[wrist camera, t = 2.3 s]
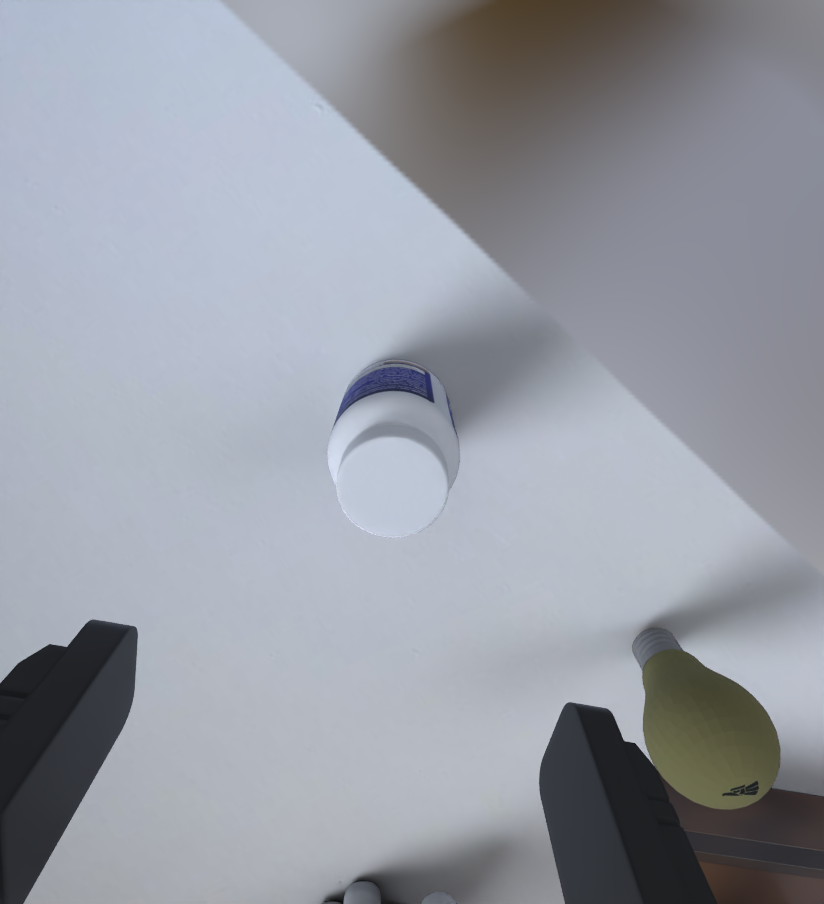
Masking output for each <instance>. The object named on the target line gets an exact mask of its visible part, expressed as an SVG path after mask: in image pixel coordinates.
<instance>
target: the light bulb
mask: <svg viewBox="0 0 824 904" xmlns="http://www.w3.org/2000/svg"><path fill="white" fill-rule="evenodd" d="M632 650H633V653H634V655H635V658H636V659H637V661H638V663H639V665H640V667H641V669H642V671H643V672H642V673H643V676H642V679H643V685H644V689H645V706H644V714H643V732H644V738H645V743H646V747H647V750H648V752H649V755H650V758H651V760H652V762H653V763H654V765H655V766H656V768H657V770H658V771H659V773H660V774H661V776H662V777H663V778H664V779H665V780H666V781H667V782H668V783H669V784H670V785H671V786H672V787H673V788H674V789H675V790H676V791H677V792H679V793H680V794H682V795H683V796H685V797H686V798H688V799H690V800H692V801H693V802H696V803H698V804H701V805H704V806H707V807H710V808H714V809H729V810H732V809H737V808H742V807H746V806H748V805H750V804H752V803H754V802H756V801H758V800H759V799H760V798H762V797H763V796H764V795H765V794H766V793H767V792H768V791H769V790H770V788H771V787H772V785H773V784H774V782H775V780H776V777H777V774H778V770H779V767H780V745H779V740H778V736H777V732H776V729H775V727H774V725H773V723H772V721H771V719H770V717H769V715H768V713H767V712H766V710H765V709H764V708H763V706H762V705H761V704H760V703H759V702H758V701H757V700H756V698H755V697H754V696H753V695H752V694H750V693H749V692H748V691H747V690H745V689H744V688H743V687H742V686H741V685H739V684H737V683H736V682H734V681H732V680H731V679H729V678H727V677H725V676H723V675H721V674H718V673H716V672H714V671H712V670H710V669H708V668H707V667H705V666H704V665H703V664H702V663H700V662H699V661H698V660H697V659H696V658H695V657H694V656H692V655H691V654H689V653H687V652H685V651H683V649H682V648H681V647H680V645H679V644H678V642H677V640H676V639H675V637H674V636H673V634H672V633H671V632H669V631H668V630H665V629H662V628H652V629H648V630H646V631H644V632H642V633H641V634H639V635H638V636H637V637H636V639H635V640H634V642H633V645H632Z"/></svg>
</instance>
